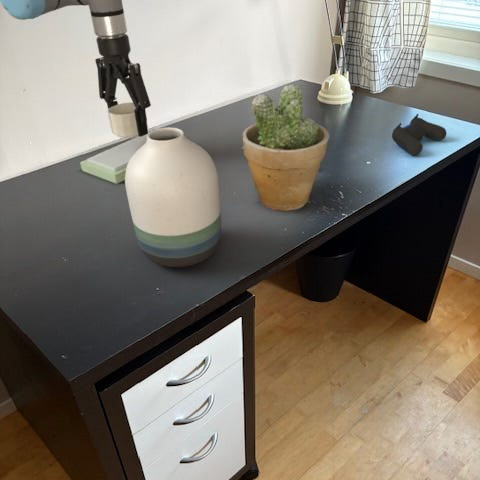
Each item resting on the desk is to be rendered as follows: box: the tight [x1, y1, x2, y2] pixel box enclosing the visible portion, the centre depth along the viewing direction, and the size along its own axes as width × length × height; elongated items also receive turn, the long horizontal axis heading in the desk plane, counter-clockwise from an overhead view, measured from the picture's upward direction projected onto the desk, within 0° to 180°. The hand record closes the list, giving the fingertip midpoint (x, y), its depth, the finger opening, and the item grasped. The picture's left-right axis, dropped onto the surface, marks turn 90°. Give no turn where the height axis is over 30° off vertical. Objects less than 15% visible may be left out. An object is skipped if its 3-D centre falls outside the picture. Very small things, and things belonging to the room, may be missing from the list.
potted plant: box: [242, 83, 330, 212], centre depth 104 cm, size 18×19×25 cm
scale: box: [79, 130, 152, 185], centre depth 131 cm, size 14×26×3 cm, turn 142°
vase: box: [124, 126, 222, 268], centre depth 89 cm, size 17×17×24 cm
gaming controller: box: [391, 113, 447, 157], centre depth 131 cm, size 17×6×10 cm
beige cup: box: [107, 102, 149, 139], centre depth 125 cm, size 9×9×6 cm
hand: (130, 131), depth 127 cm, fingers closed on beige cup, 9 cm apart
